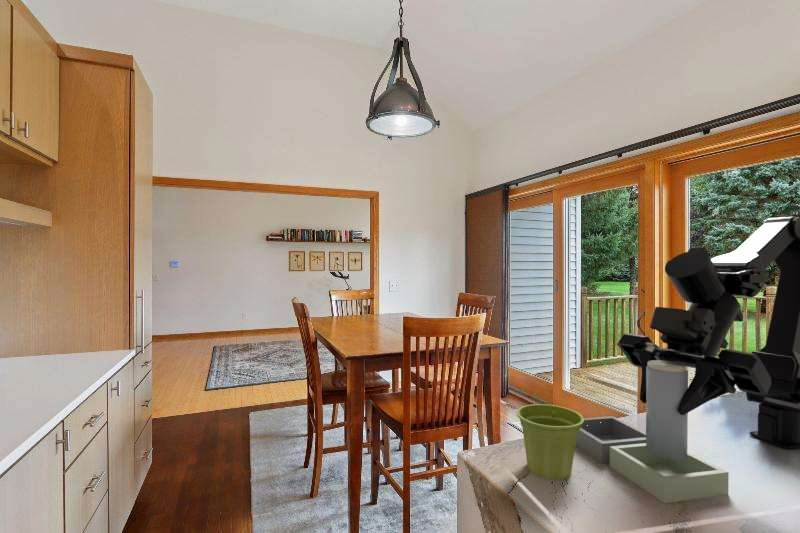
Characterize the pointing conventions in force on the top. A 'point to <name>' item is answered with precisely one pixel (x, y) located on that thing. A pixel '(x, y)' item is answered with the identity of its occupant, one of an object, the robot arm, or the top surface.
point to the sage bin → (669, 474)
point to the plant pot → (550, 438)
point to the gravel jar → (666, 409)
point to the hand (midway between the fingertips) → (660, 406)
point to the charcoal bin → (606, 436)
